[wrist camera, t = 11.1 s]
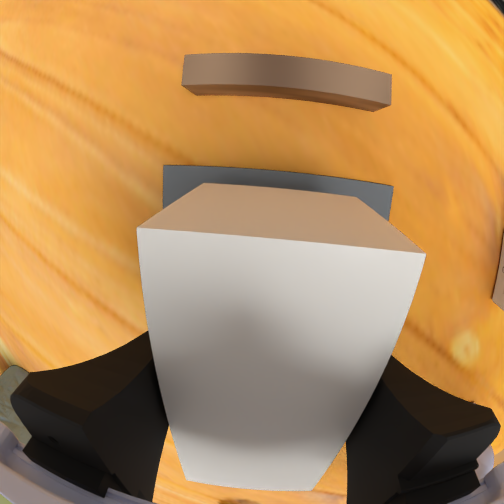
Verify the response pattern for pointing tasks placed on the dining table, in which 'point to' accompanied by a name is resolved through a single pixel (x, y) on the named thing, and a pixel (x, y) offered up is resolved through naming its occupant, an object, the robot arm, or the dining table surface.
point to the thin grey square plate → (273, 183)
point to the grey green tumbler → (3, 409)
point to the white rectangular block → (270, 326)
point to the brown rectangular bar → (287, 79)
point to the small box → (500, 282)
